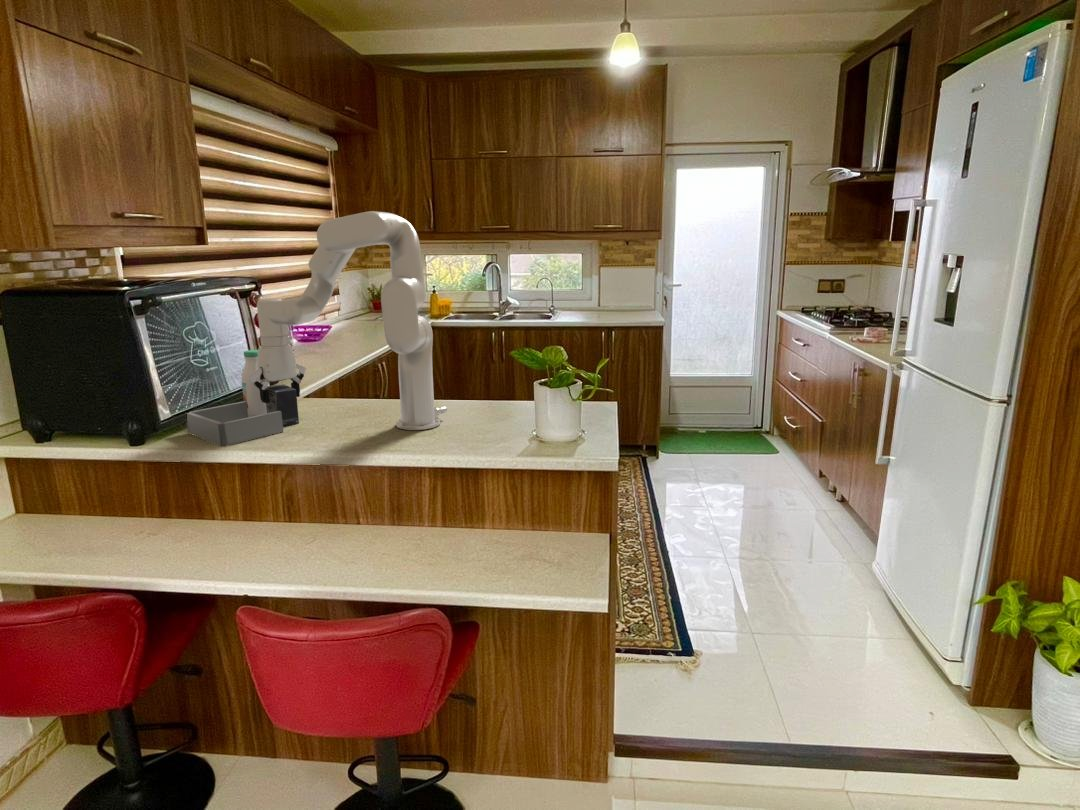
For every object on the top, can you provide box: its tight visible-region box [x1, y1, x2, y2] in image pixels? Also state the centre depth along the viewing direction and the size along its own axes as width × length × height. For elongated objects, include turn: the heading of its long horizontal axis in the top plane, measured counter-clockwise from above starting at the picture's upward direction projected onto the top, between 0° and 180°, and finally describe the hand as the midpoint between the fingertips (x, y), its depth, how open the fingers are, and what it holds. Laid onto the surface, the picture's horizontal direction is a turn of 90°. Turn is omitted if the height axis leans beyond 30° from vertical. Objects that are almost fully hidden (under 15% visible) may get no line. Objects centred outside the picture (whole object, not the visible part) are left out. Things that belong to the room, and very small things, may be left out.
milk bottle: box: [241, 349, 270, 417], centre depth 204 cm, size 8×8×20 cm
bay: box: [185, 400, 284, 447], centre depth 186 cm, size 17×20×6 cm
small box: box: [266, 384, 300, 427], centre depth 197 cm, size 11×6×10 cm, turn 40°
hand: (281, 399), depth 196 cm, fingers open, 9 cm apart
